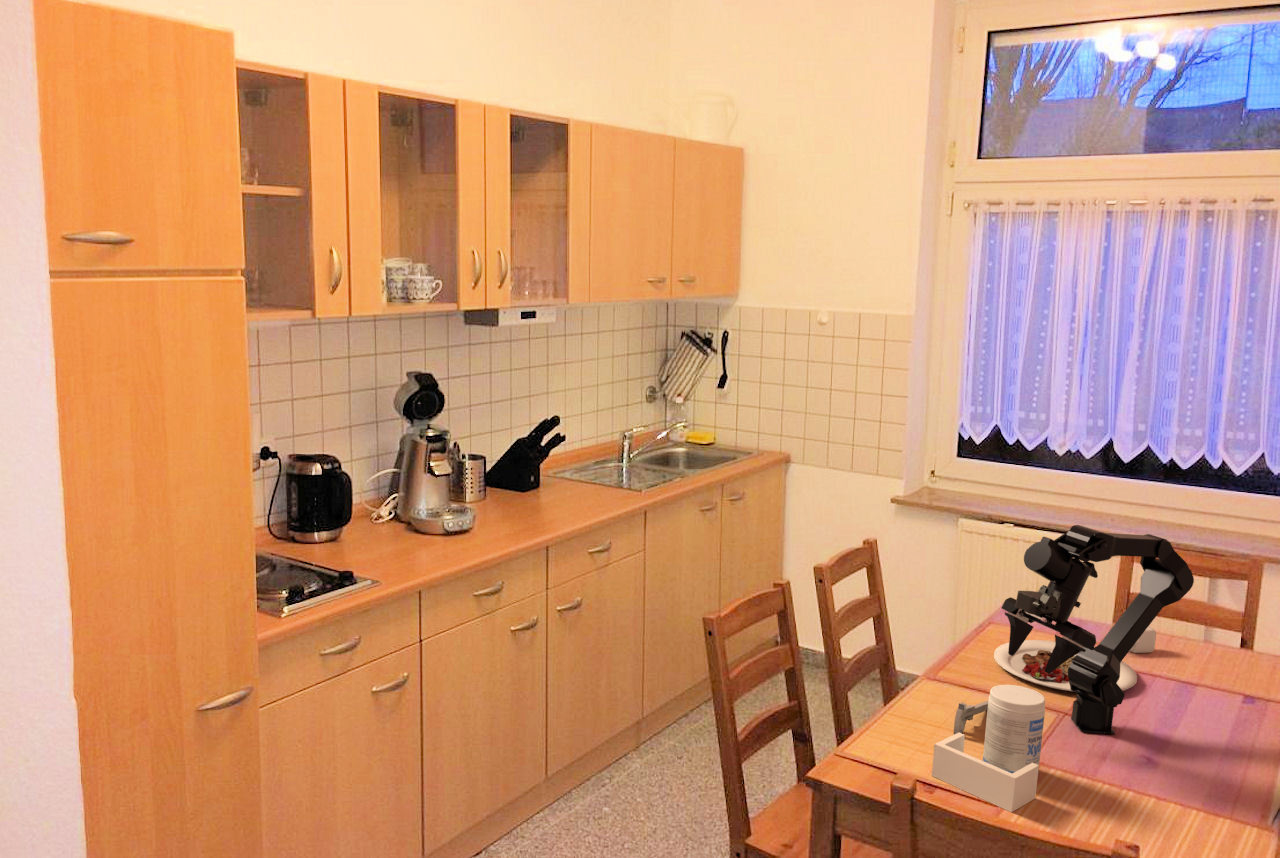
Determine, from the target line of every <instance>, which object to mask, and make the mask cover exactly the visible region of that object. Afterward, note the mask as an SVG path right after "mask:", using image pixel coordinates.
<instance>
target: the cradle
mask: <svg viewBox="0 0 1280 858" xmlns="http://www.w3.org/2000/svg"><path fill="white" fill-rule="evenodd" d="M965 737H966V734H964V733H963V734H962V733H960V732H959V733H957V734H953V735H950V736H948V737H947V738H944V739H942V740H940V741H938V742H936V743H934V745H933V746H934V748H933V757H932V768H931V769H932V770H931V776H932V777H933V778H935V779H937V780H939V781H941V782H944V783H947V784H948V785H950V786H953V787H955V788H957V789H960V790H962V791H964V792H967V793H968V794H970V795H973V796H975V797H977V798H978V799H979V798H980V799H981V800H983V801H986V802H988V803H990V804H993V805H995V806H997V807H999V808H1000V809H1003V810H1005V811H1007V812H1009V813H1013V812H1015V811H1017V809H1019V808H1021V807H1023V806H1024V805H1026V804H1028V803H1030V802H1031V801H1033V800H1035V799H1036V795H1037V794H1036V793H1037V787H1038V778H1039V777H1038V776H1039V771H1038V769H1039V770H1040V764H1039V765H1037V764H1035V763H1031V764H1029V765H1027V766H1025V767H1023V768H1022V769H1020V770H1018V771H1016V772H1014V773H1010V772H1007V771H1005V770H1003V769H1000V768H998V767H996V766H993V765H991V764H989V763H986V762H984V761H983V759H982V760H981V759H979V758H977V757H974V756H972V755H970V754H967V753H965V752H964V749H965V740H966V738H965Z"/></svg>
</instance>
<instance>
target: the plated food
mask: <svg viewBox="0 0 1280 858" xmlns="http://www.w3.org/2000/svg"><path fill="white" fill-rule="evenodd" d="M1054 647H1055V640H1054V641H1053V640H1041V639H1025V641H1024V642H1023V644H1022V645H1021V646H1020V648H1019V649H1018V651H1017V652H1016V653H1015V654H1014V655H1013V656H1011V655H1009V654H1008V651H1009V642H1005V643H1004V644H1001V645H999V646H998V647H996V648H995V650H994V652H993V658H994V660H995V662H996V663H997V664H998V665H999V666H1000V667H1001V668H1002V669H1004V671H1007V672H1009V673H1010V674H1011V675H1014V676H1016V677H1019V678H1020V679H1022V680H1025V681H1028V682H1031V683H1034V684H1036V685H1040V686H1044V687H1048V688H1052V689H1057V690H1062V691H1069V692H1072V691H1071V688H1070V683H1069V678H1068V668H1069V666H1070V664H1071V663H1072V661H1071V659H1073V658H1074V657H1075V656H1076V655H1077V654H1076V655H1075V656H1073V657H1071V658H1070V659H1068V660H1067V661H1065V662H1064V663H1063V664H1061V665H1060V666H1059V667H1058V668H1056V669H1055V670H1054V671H1052V672H1051V673H1050V674H1048V673H1046V672H1045V668H1046V665H1047V662H1048V660H1049V658H1050V656H1051V654H1052V651H1053V649H1054ZM1137 680H1138V675H1137V673H1136V671H1135V670H1134V669H1133V668H1132V666H1130V665H1129V664H1127V663H1125V662H1124V661H1123V660H1122V661H1121V663H1120V678H1119V680H1118V681H1117V684H1118V686H1119V687H1120V688H1121V690H1122V691H1123V692H1124V691H1127V690H1128V689H1131V688H1132V687H1134V686H1135V685H1136V683H1138V681H1137Z"/></svg>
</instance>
